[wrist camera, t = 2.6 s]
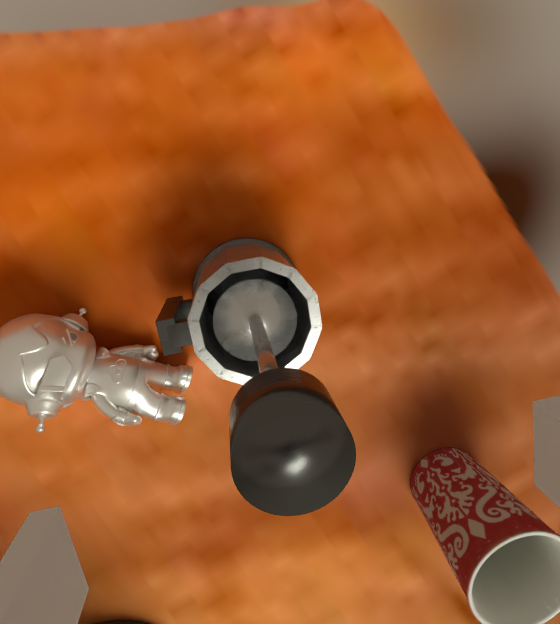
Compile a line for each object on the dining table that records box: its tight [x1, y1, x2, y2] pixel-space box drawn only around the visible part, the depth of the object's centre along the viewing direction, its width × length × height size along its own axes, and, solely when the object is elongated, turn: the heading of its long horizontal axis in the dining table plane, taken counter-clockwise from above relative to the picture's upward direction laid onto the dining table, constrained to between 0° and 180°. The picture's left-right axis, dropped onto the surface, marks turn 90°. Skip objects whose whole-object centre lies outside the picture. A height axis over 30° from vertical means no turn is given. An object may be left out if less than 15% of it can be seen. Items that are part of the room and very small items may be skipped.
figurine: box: [0, 308, 193, 433], centre depth 37 cm, size 11×7×15 cm
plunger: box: [213, 278, 356, 516], centre depth 23 cm, size 6×6×17 cm
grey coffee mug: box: [156, 238, 322, 385], centre depth 35 cm, size 11×9×10 cm
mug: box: [410, 448, 560, 624], centre depth 41 cm, size 13×9×14 cm
